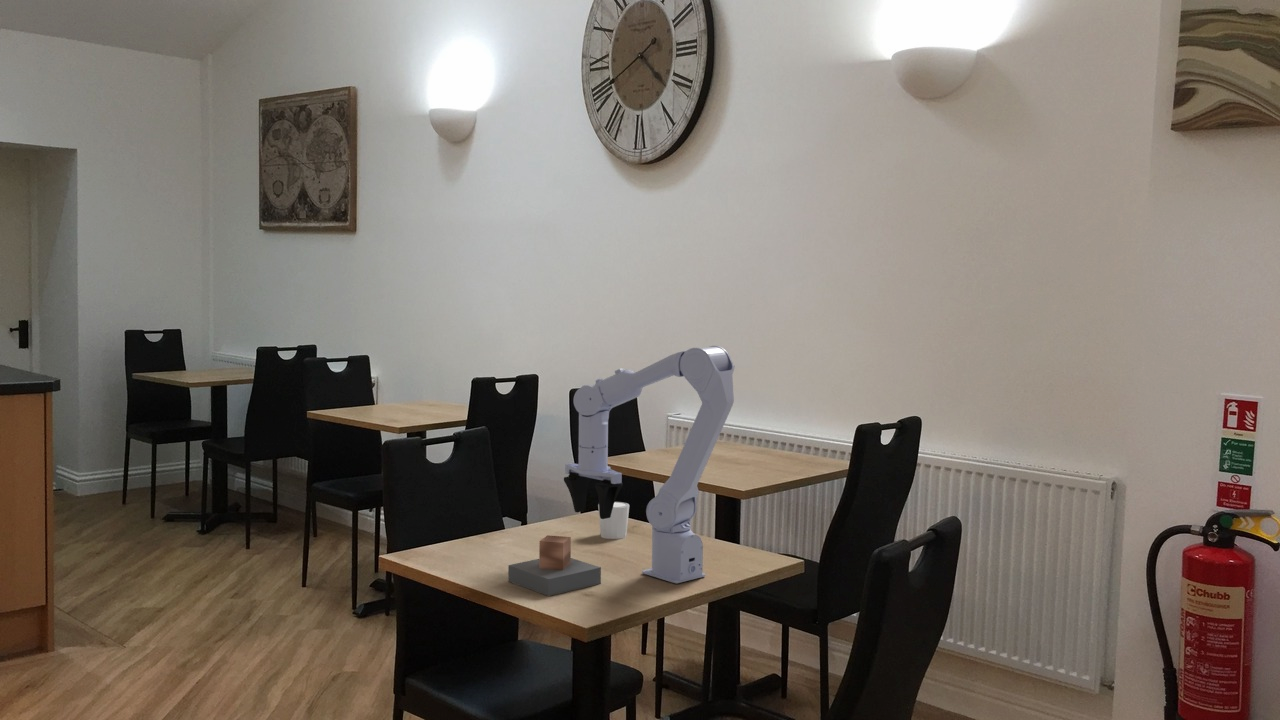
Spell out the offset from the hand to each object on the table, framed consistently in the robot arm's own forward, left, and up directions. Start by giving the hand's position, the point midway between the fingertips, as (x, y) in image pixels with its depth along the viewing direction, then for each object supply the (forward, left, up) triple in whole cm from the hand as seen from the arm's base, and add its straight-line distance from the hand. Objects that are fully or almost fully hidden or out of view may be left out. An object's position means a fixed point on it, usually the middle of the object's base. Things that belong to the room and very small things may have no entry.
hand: (592, 514), depth 203 cm
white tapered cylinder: (+14, -18, -10) cm, 24 cm away
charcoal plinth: (-6, +14, -9) cm, 18 cm away
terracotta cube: (-6, +14, -6) cm, 17 cm away
